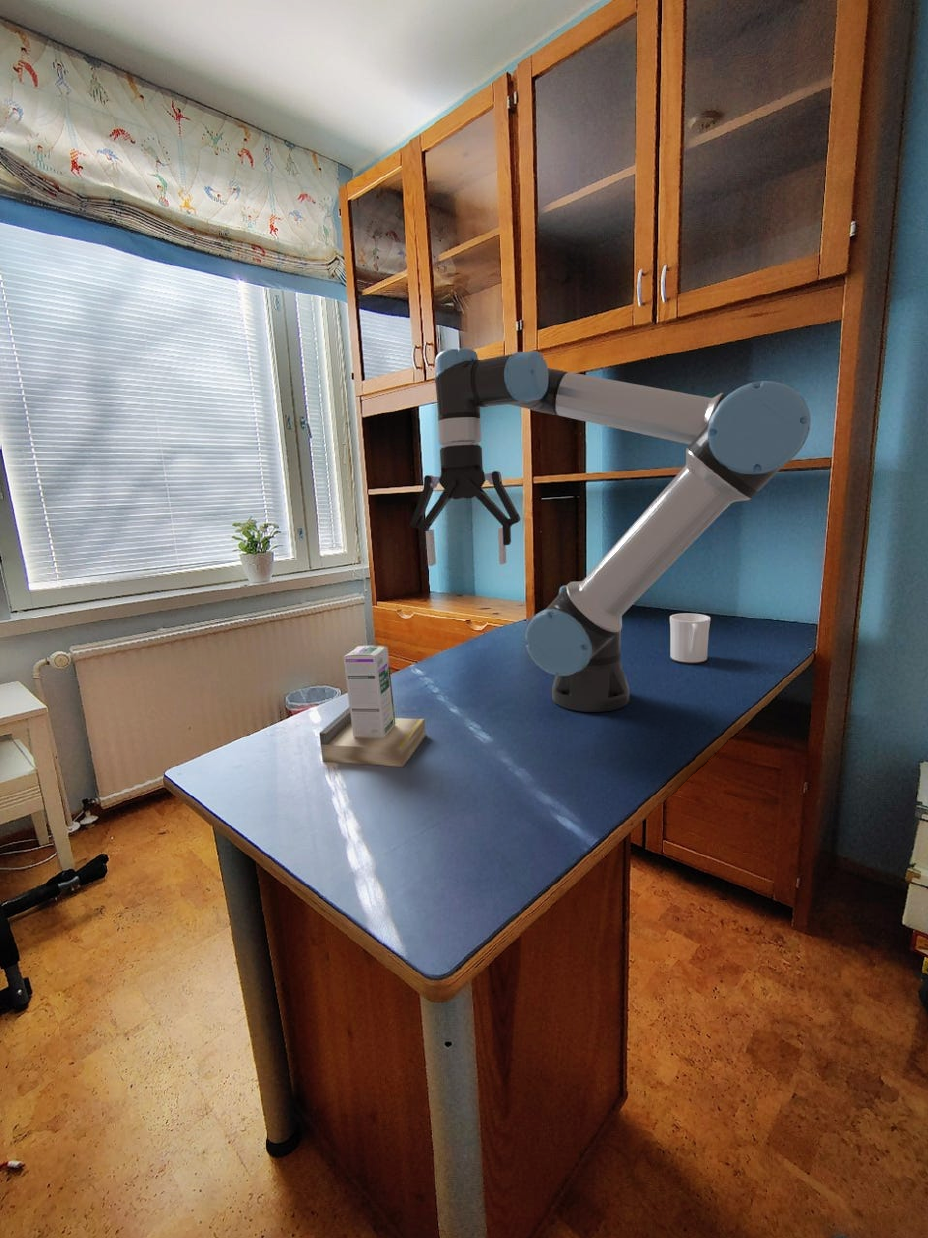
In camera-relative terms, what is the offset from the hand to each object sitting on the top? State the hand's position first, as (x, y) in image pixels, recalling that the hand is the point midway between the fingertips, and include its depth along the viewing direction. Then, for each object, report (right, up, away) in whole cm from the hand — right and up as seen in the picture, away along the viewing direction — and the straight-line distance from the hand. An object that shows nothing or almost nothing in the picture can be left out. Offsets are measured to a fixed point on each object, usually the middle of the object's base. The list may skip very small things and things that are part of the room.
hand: (466, 564), depth 107 cm
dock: (-16, -32, -8) cm, 37 cm away
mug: (+53, -20, +29) cm, 63 cm away
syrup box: (-16, -30, -9) cm, 35 cm away
